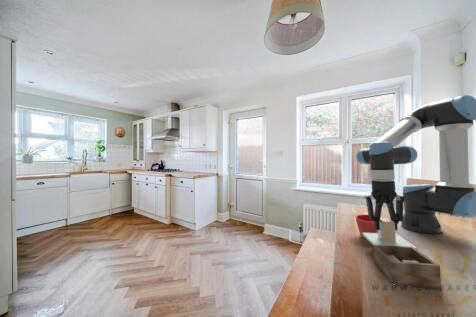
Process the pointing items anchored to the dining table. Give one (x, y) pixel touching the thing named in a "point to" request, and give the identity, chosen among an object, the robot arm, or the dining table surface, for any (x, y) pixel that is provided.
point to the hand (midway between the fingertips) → (386, 237)
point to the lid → (387, 236)
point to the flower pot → (365, 225)
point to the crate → (407, 266)
